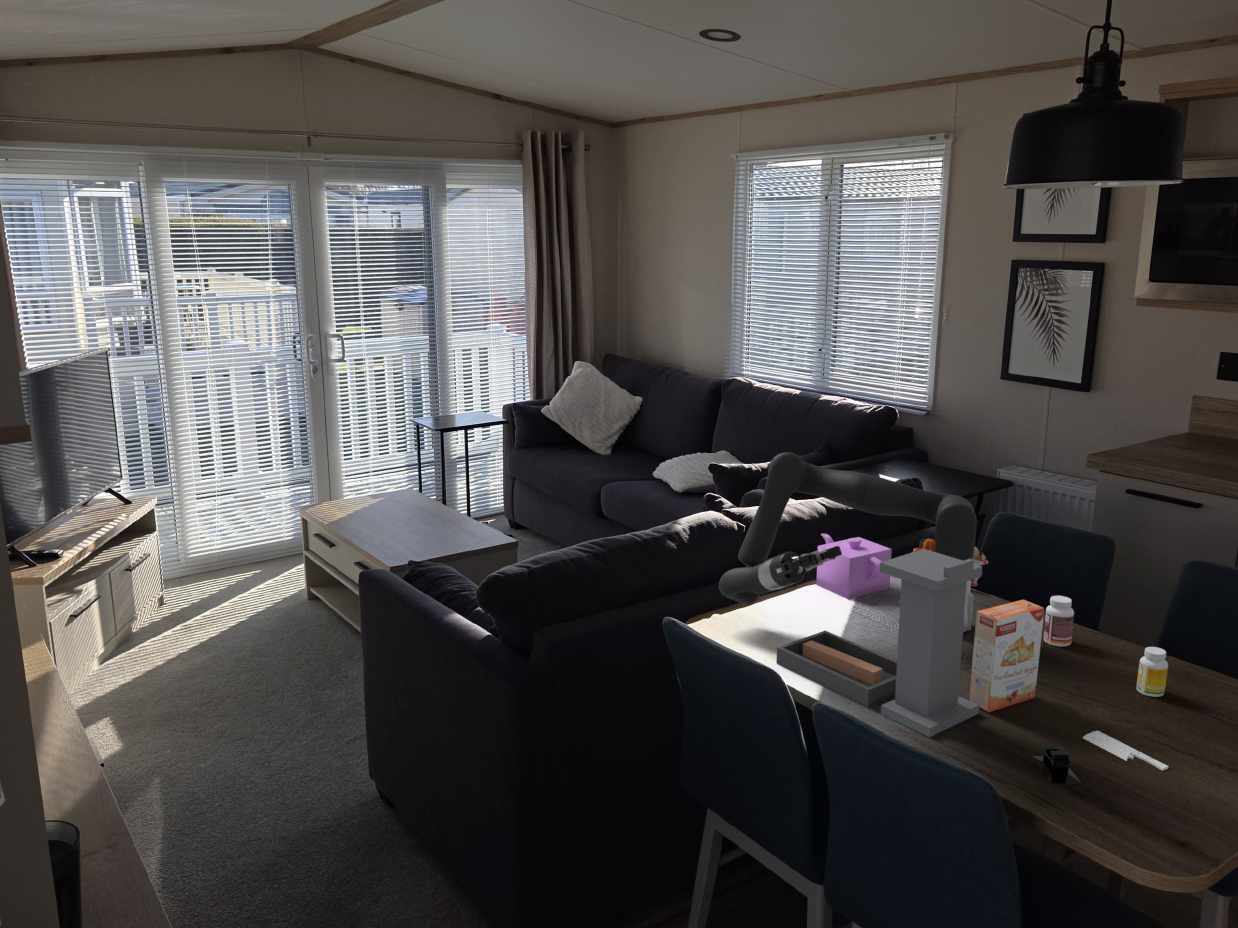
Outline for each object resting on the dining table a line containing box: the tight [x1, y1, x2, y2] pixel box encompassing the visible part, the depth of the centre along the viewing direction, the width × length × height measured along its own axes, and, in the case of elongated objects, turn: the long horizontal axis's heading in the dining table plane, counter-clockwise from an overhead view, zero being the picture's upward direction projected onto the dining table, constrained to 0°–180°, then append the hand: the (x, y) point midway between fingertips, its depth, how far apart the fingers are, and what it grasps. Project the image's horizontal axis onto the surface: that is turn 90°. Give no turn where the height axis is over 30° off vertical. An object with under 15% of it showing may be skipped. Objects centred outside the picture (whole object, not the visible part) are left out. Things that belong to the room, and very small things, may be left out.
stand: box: [879, 549, 983, 738], centre depth 200 cm, size 15×16×34 cm
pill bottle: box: [1043, 595, 1075, 648], centre depth 235 cm, size 6×6×11 cm
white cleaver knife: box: [1082, 730, 1169, 771], centre depth 187 cm, size 5×15×1 cm, turn 26°
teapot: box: [816, 533, 893, 600], centre depth 274 cm, size 15×25×14 cm, turn 29°
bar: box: [803, 640, 883, 685], centre depth 221 cm, size 20×3×3 cm, turn 39°
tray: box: [776, 630, 897, 708], centre depth 220 cm, size 27×16×4 cm, turn 35°
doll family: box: [912, 538, 989, 587], centre depth 274 cm, size 21×10×13 cm, turn 58°
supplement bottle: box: [1136, 646, 1169, 698], centre depth 209 cm, size 5×5×10 cm
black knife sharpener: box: [1030, 744, 1082, 785], centre depth 181 cm, size 12×7×5 cm, turn 179°
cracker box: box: [968, 599, 1045, 713], centre depth 205 cm, size 14×6×21 cm, turn 117°
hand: (826, 553), depth 220 cm, fingers open, 8 cm apart
